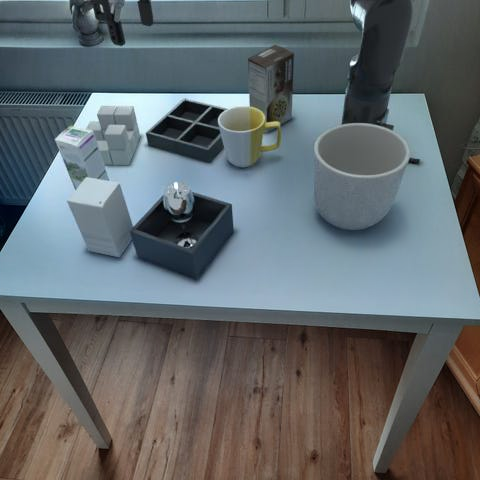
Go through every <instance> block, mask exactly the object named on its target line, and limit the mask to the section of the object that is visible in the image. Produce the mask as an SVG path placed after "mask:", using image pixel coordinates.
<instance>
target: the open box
mask: <svg viewBox="0 0 480 480" xmlns="http://www.w3.org/2000/svg"><path fill="white" fill-rule="evenodd" d="M191 192H192V194H193V197H194V200H195V205H196V208H195V213H194V215H193V217H192V218H191V219H190V220H188V221H186V224H185V231H186V232H190V233H193V234H195V235H196V236H197V242H196V244H195V245H194V246H192V247H190V248H186V247H183V246H180V245H177V244H175V238H176V237H177V236H178V235H179V234H181V233H183V228H182V226H181V224H180V223H179V222H174V221H172V220H171V219H169V218H168V216H167V215H166V213H165V210H164V205H163V195H162V196H160V197H159V199H158V200H157V201H156V202H155V203H154V204H153V205H152V207H150V208H149V209H148V210H147V212H146V213H144V215H143V216H142V217H141V218H140V219H139V220H138V221H137V222H136V223H135V224H134V225H133V228H132V229H131V230H130V234H131V237H132V240H131V241H132V244H133V247H134V249H135V254H136V258H137V259H140V260H143V261H146V262H148V263H151V264H153V265H156V266H159V267H161V268H164V269H167V270H169V271H171V272H175V273H177V274H180V275H183V276H185V277H188V278H191V279H193V280H197V281H198V279H200V277H201V275H202V274H203V273H204V272H205V270H206V269H207V268H208V266H209V265H210V264H211V262H212V261H213V260H214V259H215V257H216V256H217V254H218V253H219V252H220V251H221V249H222V248H223V247H224V245H225V244H226V243H227V241H228V240H229V239H230V237H231V236H232V235H233V233H234V232H235V229H234V228H235V227H234V215H233V204H232V203H230V202H228V201H224V200H220V199H217V198H214V197H211V196H208V195H205V194H201V193H198V192H196V191H195V192H194V191H192V190H191Z"/></svg>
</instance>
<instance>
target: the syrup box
mask: <svg viewBox="0 0 480 480" xmlns="http://www.w3.org/2000/svg"><path fill="white" fill-rule="evenodd" d="M54 142H55V144H56V146H57V148H58V151H59V154H60V156H61V158H62V161H63V163H64V166H65V168H66V171H67V172H68V176H69V178H70V181H71V183H72V186H73V188H74V191H75V190H76V189H77V188H78V186H79V185H80V184H81V183H82V182H83V180H84V179H85V178H86V177H89V178H95V179H100V180H106V181H111V180H110V178H109V174H108V171H107V169H106V165H105V164H104V162H103V159H102V156H101V153H100V150H99V147H98V144H97V140H96V138H95V135H94V132H93V131H92V130H88V129H86V128H84V127H79V126H75V125H69V126H68V127H67V128H65V129H64V130H63V131H61V132H60V133H59V134H58V135H57V137H55V138H54Z"/></svg>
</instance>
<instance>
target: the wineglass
mask: <svg viewBox="0 0 480 480" xmlns="http://www.w3.org/2000/svg"><path fill="white" fill-rule="evenodd" d="M191 191H192V190H191V188H190V186H189V185H188V184H187V183H184V182H179V181H178V182H172V183H170V184H168V185H167V186H165V187H164V190H163V194H162V196H163V205H164V210H165V213H166V215H167V216H168V218H169V219H171V220H172V221H174V222H179V223H180V224H181V226H182V228H183V233H181V234H179V235H178V236H177V237H176V238H175V244H177V245H180V246H183V247H186V248H190V247H192V246H194V245H195V244H196V242H197V236H196V235H195V234H193V233H190V232H186V231H185V224H186V221H188V220H190V219H191V218H192V217H193V215H194V213H195V208H196V205H195V200H194V197H193V194H192V192H193V191H192V192H191Z"/></svg>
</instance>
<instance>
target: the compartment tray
mask: <svg viewBox="0 0 480 480" xmlns="http://www.w3.org/2000/svg"><path fill="white" fill-rule="evenodd" d="M227 109H228V108H226V107H222V106H218V105H213V104H209V103H205V102H202V101H197V100H193V99H189V98H185V97H184V98H182V99H181V100H180V101H179V102H178V103H177V104H175V106H173V107H172V108H171V109H170V110H169V111H168V112H167V113H166V114H165V115H164V116H162V117H161V119H159V120H158V121H157V122H156V123H155V124H153V126H151V127H150V128H149V129H148V130H147V131H146V132H145V136H146V142H147V145H148V146H149V147H153V148H155V149H159V150H162V151H166V152H170V153H174V154H177V155H180V156H183V157H187V158H190V159H195V160H197V161H201V162H205V163H209V164H210V163H211V162H212V161H213V160H214V159H215V158H216V157H217V156H218V155H219V153H221V151H222V150H223V149H224V145H223V141H222V137H221V133H220V129H219V124H218V117H219V116H220V114H221V113H222V112H224V111H225V110H227Z"/></svg>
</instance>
